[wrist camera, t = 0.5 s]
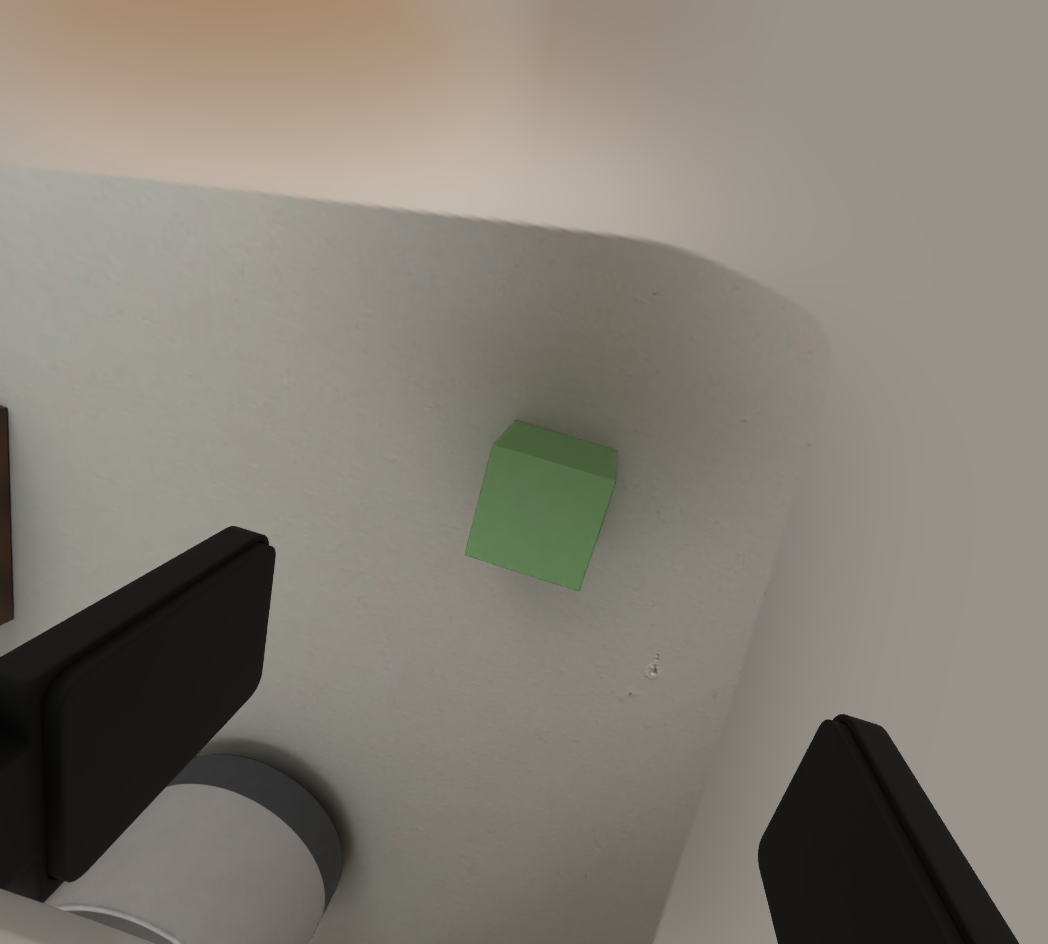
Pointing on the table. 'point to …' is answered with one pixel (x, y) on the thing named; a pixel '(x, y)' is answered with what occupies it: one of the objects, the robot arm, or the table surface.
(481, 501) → the toy block
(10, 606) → the block
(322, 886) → the planter
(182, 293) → the table surface
